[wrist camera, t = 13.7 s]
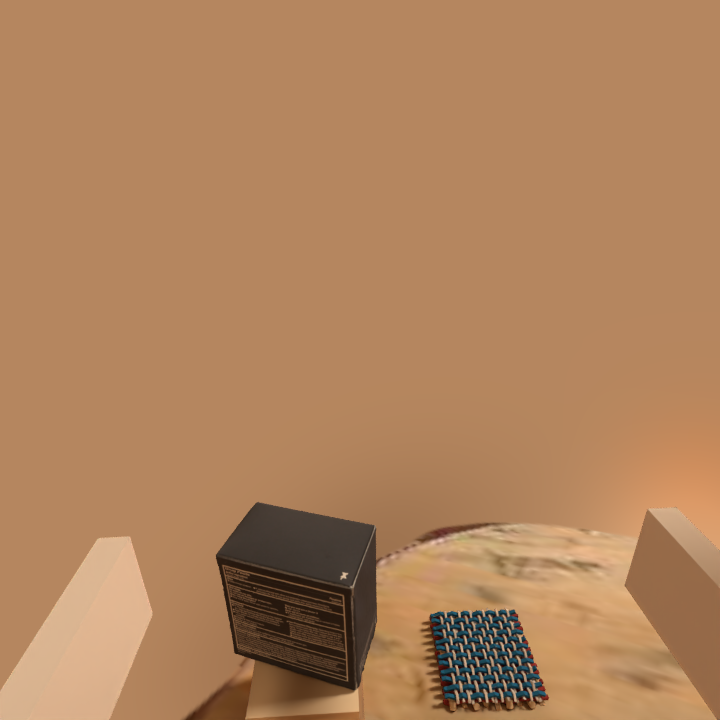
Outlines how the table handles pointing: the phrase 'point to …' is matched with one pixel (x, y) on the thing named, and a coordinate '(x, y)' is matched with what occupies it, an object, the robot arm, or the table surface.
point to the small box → (302, 592)
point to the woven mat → (485, 659)
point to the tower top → (297, 697)
